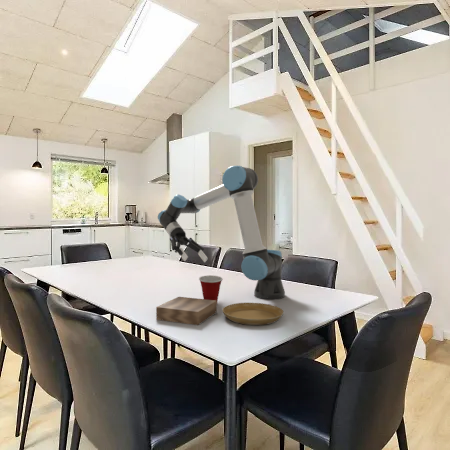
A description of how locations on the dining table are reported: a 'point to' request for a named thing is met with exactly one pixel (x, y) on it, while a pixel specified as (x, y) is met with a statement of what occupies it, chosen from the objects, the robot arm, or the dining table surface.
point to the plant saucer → (252, 313)
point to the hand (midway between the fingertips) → (196, 259)
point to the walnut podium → (186, 310)
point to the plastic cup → (210, 286)
